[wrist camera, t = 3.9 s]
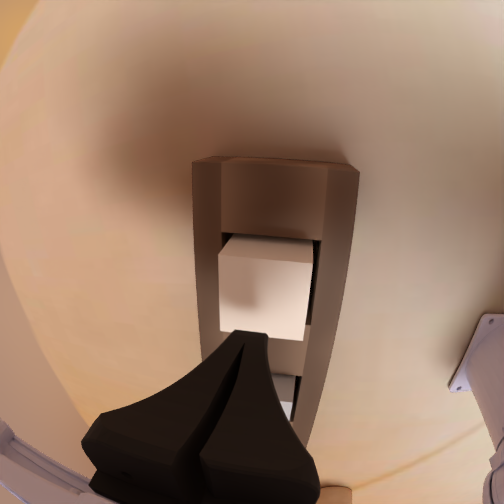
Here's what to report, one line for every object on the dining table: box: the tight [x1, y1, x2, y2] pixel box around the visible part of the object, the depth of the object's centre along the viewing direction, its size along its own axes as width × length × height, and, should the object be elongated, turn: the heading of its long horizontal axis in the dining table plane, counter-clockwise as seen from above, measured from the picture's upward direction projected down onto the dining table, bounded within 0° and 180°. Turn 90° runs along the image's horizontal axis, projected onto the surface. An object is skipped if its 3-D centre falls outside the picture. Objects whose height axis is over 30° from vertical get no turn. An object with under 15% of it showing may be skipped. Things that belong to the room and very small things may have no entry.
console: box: [192, 156, 360, 448], centre depth 21 cm, size 8×30×4 cm, turn 179°
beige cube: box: [218, 233, 313, 341], centre depth 16 cm, size 4×4×4 cm
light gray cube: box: [271, 373, 296, 420], centre depth 19 cm, size 4×4×4 cm
